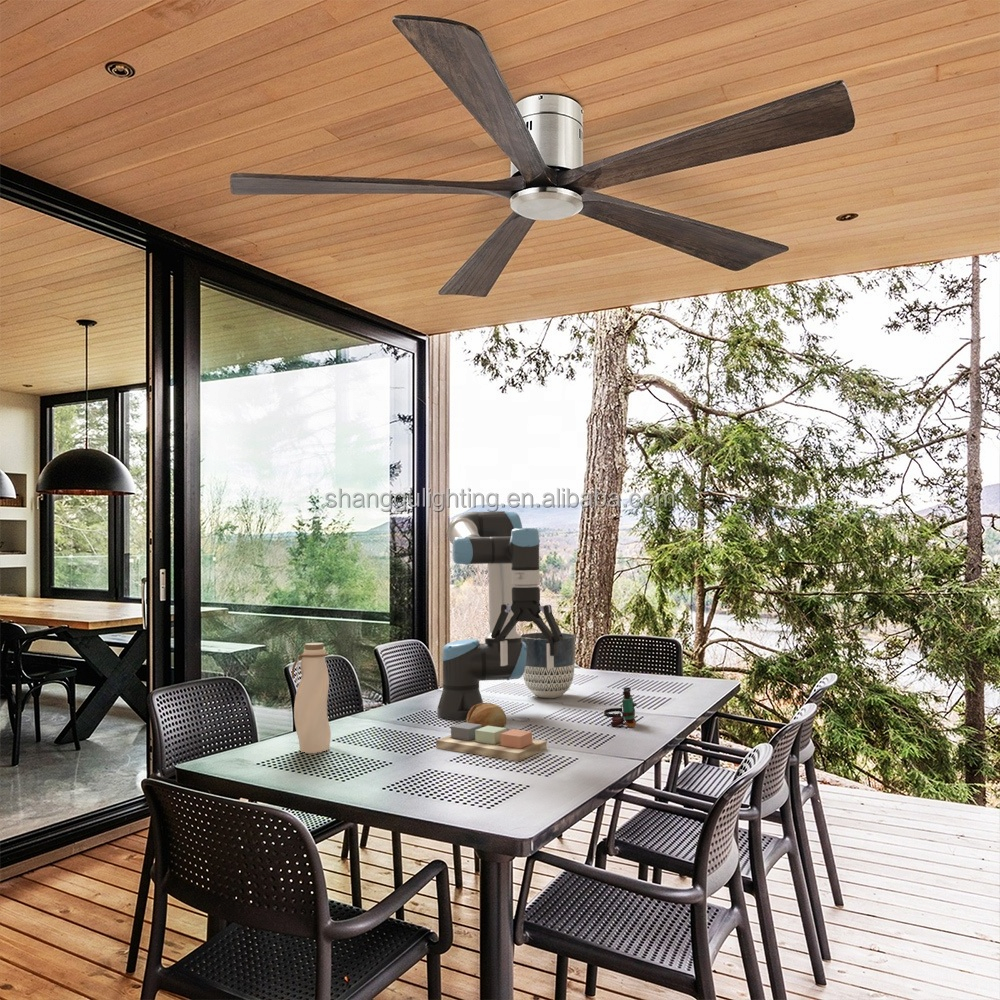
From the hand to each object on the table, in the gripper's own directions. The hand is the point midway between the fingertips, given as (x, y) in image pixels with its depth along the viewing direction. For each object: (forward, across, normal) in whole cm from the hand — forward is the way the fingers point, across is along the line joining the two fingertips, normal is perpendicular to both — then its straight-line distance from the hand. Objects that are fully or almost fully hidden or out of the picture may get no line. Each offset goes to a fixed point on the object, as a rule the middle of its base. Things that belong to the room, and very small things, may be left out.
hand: (526, 667), depth 211 cm
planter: (+21, -25, +67) cm, 74 cm away
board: (+22, -10, -3) cm, 24 cm away
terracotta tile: (+20, -2, -4) cm, 20 cm away
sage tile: (+20, -10, -3) cm, 22 cm away
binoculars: (+22, +12, +37) cm, 45 cm away
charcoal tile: (+19, -18, -2) cm, 26 cm away
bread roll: (+22, -20, +13) cm, 32 cm away
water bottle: (+22, -52, -25) cm, 61 cm away
